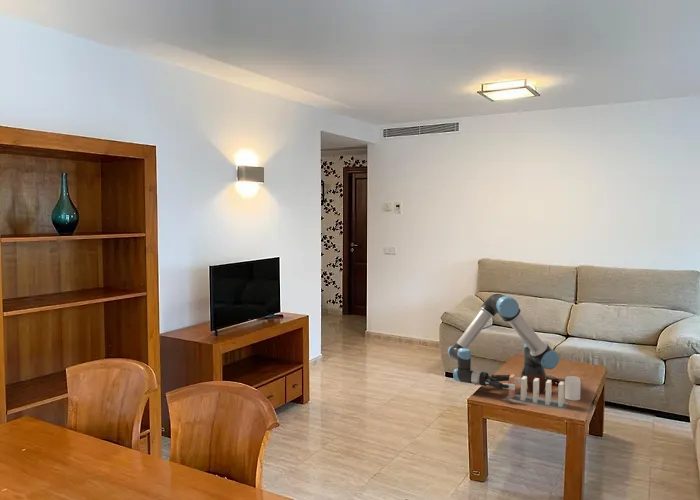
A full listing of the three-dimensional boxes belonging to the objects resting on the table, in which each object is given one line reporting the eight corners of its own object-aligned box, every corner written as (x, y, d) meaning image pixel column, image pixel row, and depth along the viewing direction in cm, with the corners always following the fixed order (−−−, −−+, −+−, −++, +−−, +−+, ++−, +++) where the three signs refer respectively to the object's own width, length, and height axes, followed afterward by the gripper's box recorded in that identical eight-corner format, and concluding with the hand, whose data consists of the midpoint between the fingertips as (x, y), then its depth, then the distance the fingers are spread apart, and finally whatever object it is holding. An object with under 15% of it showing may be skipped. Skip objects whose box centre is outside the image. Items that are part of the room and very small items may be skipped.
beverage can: (569, 395, 311) (569, 374, 310) (583, 399, 304) (583, 378, 303) (561, 398, 306) (562, 377, 305) (575, 402, 299) (575, 381, 298)
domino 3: (532, 402, 298) (533, 380, 297) (535, 399, 303) (535, 377, 303) (536, 402, 297) (536, 381, 296) (538, 399, 302) (539, 378, 302)
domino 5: (558, 406, 292) (558, 384, 291) (559, 403, 297) (560, 381, 296) (561, 407, 291) (562, 384, 290) (563, 403, 296) (564, 381, 295)
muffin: (548, 390, 319) (549, 373, 319) (544, 396, 310) (545, 378, 309) (527, 387, 325) (528, 370, 325) (523, 392, 316) (523, 375, 315)
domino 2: (520, 400, 302) (520, 378, 301) (523, 397, 307) (523, 376, 306) (524, 400, 300) (524, 379, 300) (526, 397, 306) (527, 376, 305)
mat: (509, 393, 314) (509, 392, 314) (568, 403, 298) (568, 402, 298) (503, 400, 303) (503, 399, 303) (564, 410, 287) (564, 409, 287)
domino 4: (545, 404, 295) (545, 382, 294) (547, 401, 300) (547, 379, 299) (549, 405, 294) (549, 383, 293) (551, 401, 299) (551, 380, 298)
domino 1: (508, 398, 305) (508, 377, 304) (511, 395, 310) (511, 374, 309) (512, 398, 304) (512, 377, 303) (514, 395, 309) (515, 374, 308)
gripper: (486, 379, 326) (523, 384, 316) (473, 390, 305) (512, 397, 294) (486, 366, 326) (523, 371, 315) (473, 377, 304) (512, 383, 294)
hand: (518, 383), depth 305 cm, fingers open, 13 cm apart
